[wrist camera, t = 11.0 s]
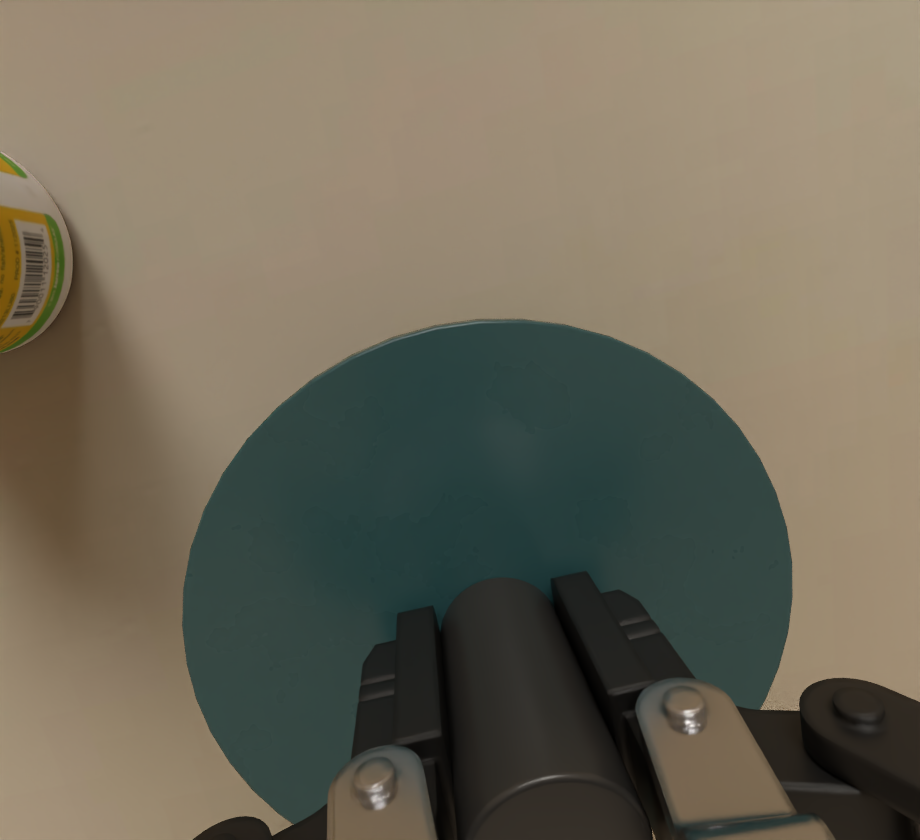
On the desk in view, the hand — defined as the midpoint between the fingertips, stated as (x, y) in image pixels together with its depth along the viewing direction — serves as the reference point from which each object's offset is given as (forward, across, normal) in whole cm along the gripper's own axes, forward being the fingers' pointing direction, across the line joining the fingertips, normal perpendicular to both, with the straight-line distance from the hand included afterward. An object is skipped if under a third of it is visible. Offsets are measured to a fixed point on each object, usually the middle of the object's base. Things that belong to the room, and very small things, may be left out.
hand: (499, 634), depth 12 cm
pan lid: (+1, 0, 0) cm, 1 cm away
